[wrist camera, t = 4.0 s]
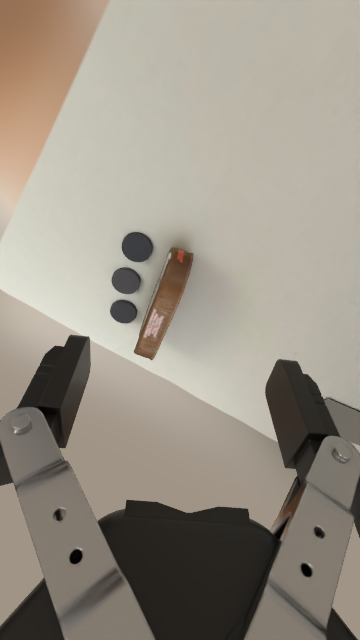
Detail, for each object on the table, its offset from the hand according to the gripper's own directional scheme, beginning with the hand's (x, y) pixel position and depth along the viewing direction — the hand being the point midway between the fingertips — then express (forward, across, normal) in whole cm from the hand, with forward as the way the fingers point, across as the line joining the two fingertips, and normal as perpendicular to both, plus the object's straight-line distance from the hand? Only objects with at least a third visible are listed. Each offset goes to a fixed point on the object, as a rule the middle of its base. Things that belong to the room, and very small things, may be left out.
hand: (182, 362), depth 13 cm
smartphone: (+26, -36, +36) cm, 57 cm away
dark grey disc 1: (+26, +4, +7) cm, 27 cm away
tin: (+26, +1, +12) cm, 29 cm away
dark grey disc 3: (+26, +6, +16) cm, 31 cm away
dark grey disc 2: (+26, +6, +12) cm, 29 cm away
